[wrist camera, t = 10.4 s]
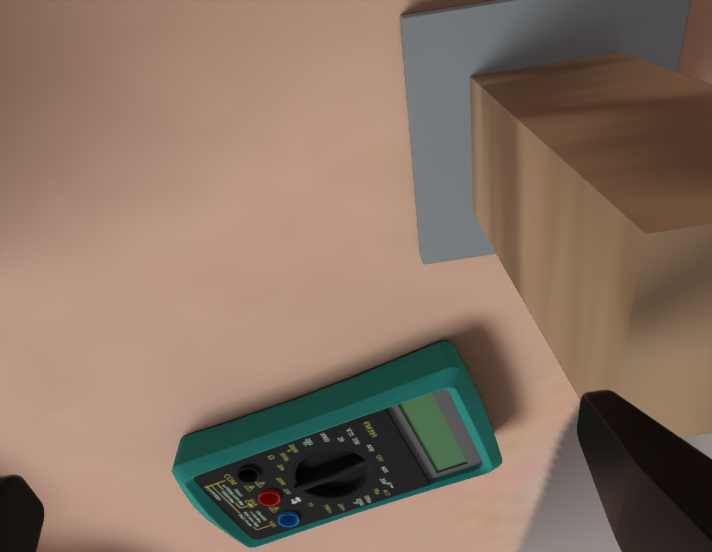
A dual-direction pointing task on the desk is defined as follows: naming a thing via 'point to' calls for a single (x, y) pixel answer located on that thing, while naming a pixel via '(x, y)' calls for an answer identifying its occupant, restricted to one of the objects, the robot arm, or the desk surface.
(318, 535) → the desk surface
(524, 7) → the grey pad
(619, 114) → the walnut block
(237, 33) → the desk surface
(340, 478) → the digital multimeter
